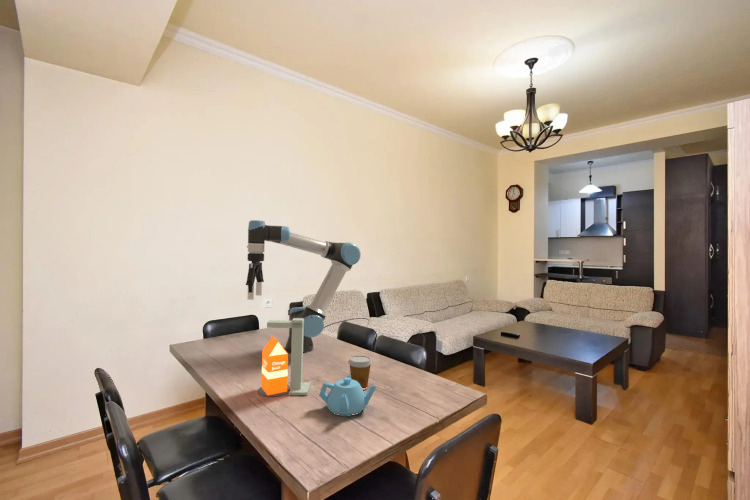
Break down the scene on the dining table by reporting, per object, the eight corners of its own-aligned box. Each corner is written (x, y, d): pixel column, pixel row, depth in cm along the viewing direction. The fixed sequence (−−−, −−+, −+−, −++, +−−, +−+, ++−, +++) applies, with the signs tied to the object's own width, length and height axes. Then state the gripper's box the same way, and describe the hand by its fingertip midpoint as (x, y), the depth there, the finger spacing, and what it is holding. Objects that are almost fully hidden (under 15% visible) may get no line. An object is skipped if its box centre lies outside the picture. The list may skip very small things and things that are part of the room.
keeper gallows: (263, 395, 131) (265, 321, 131) (269, 385, 141) (271, 316, 141) (307, 395, 132) (309, 322, 132) (310, 385, 142) (312, 316, 142)
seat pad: (254, 396, 130) (254, 395, 130) (262, 384, 142) (262, 383, 142) (286, 396, 131) (287, 395, 131) (292, 384, 143) (292, 383, 143)
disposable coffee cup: (374, 385, 144) (375, 356, 144) (366, 394, 135) (367, 363, 135) (353, 382, 147) (353, 353, 147) (343, 390, 138) (344, 360, 138)
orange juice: (280, 383, 142) (281, 334, 142) (287, 391, 135) (288, 339, 135) (260, 387, 138) (262, 336, 138) (267, 395, 130) (268, 342, 130)
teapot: (349, 395, 134) (350, 367, 134) (377, 409, 123) (377, 379, 123) (316, 407, 123) (317, 377, 123) (343, 423, 112) (343, 390, 112)
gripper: (255, 252, 178) (254, 293, 178) (239, 253, 153) (238, 301, 153) (270, 252, 178) (269, 293, 179) (256, 253, 154) (255, 301, 154)
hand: (254, 297), depth 166 cm, fingers open, 13 cm apart
